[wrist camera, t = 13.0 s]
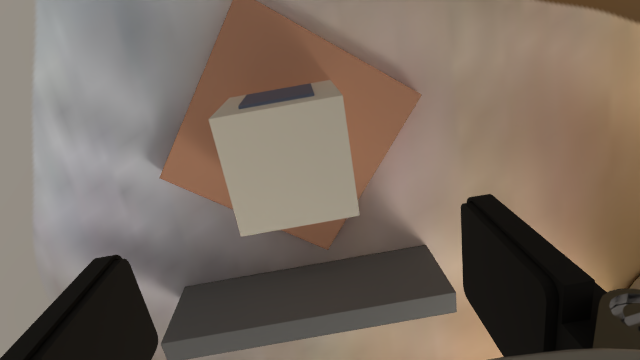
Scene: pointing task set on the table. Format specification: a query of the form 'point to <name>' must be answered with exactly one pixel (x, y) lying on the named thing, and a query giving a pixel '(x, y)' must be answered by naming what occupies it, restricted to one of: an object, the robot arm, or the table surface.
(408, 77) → the table surface
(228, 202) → the mat
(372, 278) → the long grey slat
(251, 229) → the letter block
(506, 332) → the robot arm
